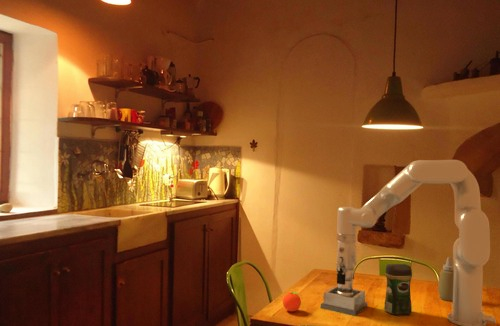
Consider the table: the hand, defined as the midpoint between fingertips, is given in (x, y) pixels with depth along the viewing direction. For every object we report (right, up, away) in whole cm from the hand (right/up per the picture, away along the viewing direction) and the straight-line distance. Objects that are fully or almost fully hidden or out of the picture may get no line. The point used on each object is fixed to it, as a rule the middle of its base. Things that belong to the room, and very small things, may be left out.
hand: (345, 281), depth 167 cm
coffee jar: (+19, -11, -4) cm, 22 cm away
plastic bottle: (0, -9, 0) cm, 9 cm away
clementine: (-22, -10, -6) cm, 25 cm away
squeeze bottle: (+48, -12, +15) cm, 51 cm away
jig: (-1, -10, 0) cm, 10 cm away
